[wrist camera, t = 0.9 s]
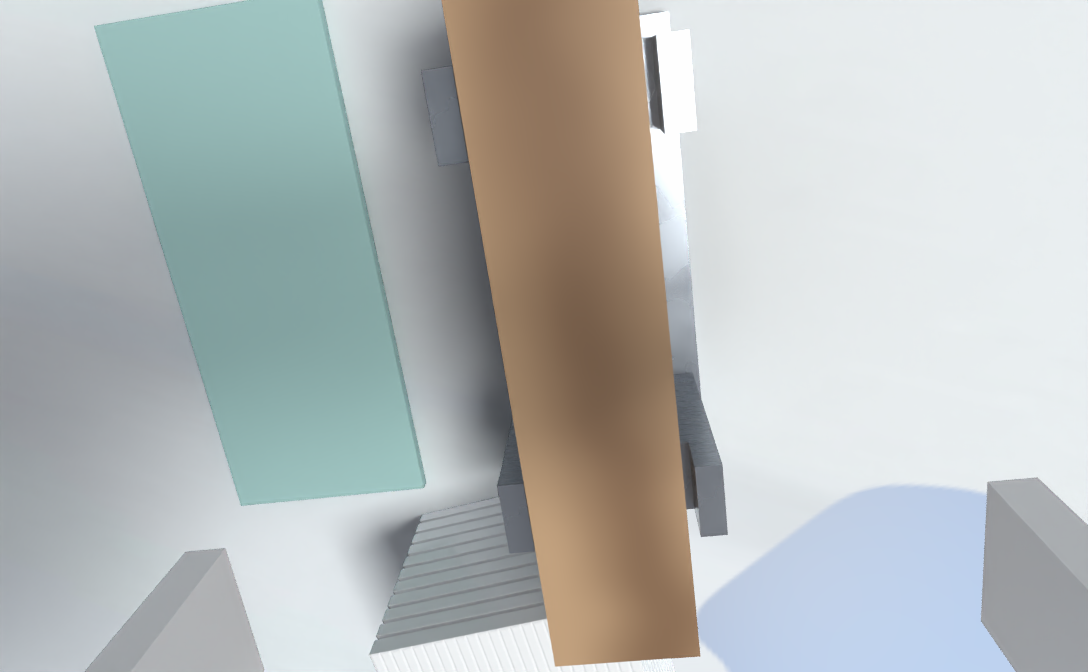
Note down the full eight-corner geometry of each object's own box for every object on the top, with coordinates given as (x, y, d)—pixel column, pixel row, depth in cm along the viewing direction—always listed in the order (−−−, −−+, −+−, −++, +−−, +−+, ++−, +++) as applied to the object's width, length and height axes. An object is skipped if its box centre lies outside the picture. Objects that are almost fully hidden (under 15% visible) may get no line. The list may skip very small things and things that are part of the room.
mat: (246, 499, 42) (241, 505, 41) (101, 26, 34) (93, 26, 34) (426, 482, 41) (423, 488, 40) (319, -10, 33) (314, -11, 33)
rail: (561, 562, 33) (554, 666, 27) (472, -2, 26) (438, -20, 20) (681, 551, 32) (700, 656, 26) (623, -26, 25) (632, -52, 19)
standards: (526, 455, 40) (505, 575, 31) (457, 45, 34) (405, 38, 24) (702, 437, 39) (737, 556, 30) (666, 12, 33) (696, -8, 23)
